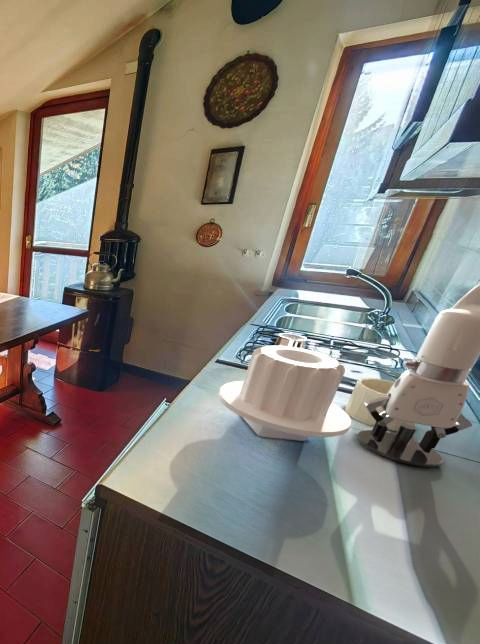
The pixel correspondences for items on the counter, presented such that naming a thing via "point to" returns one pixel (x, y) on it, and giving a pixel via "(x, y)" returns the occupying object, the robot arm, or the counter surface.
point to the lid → (400, 447)
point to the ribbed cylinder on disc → (289, 394)
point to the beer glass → (291, 340)
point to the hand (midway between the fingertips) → (399, 443)
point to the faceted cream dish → (367, 392)
